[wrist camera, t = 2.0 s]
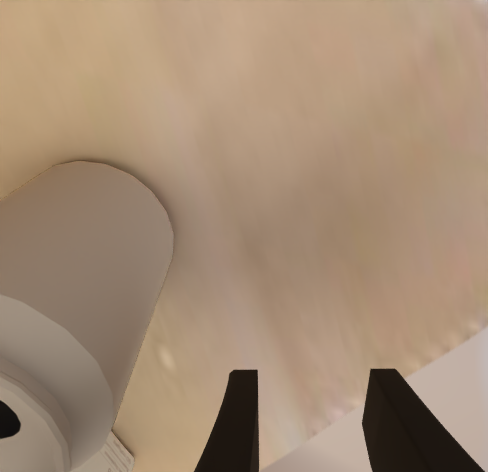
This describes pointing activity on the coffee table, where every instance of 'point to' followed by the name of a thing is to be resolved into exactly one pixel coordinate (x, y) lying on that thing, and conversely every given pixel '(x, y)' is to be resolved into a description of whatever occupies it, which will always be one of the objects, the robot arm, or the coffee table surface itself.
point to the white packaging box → (109, 458)
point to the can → (73, 308)
